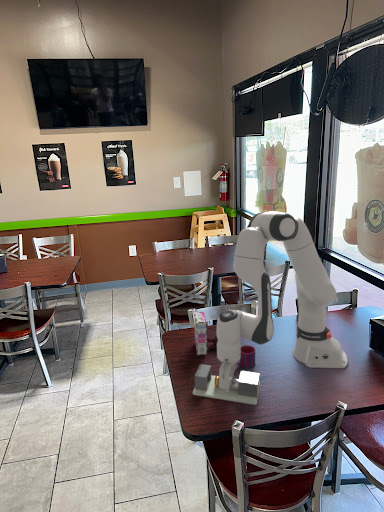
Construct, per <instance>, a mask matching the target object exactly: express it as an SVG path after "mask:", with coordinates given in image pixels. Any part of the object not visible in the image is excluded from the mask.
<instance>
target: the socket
mask: <svg viewBox="0 0 384 512" xmlns="http://www.w3.org/2000/svg"><path fill="white" fill-rule="evenodd" d="M211 375H212V365H209V364H203V363H200V364H199V366H198V368H197V371H196V372H195V374H194V384H195V385H194V388H195V389H197V390H203V391H207V380H211V379H212V377H211Z"/></svg>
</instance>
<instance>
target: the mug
mask: <svg viewBox="0 0 384 512" xmlns="http://www.w3.org/2000/svg"><path fill="white" fill-rule="evenodd" d="M236 365H238V366H240V367H243V368H244V369H245V368H247V369H250V368H253V367H255V365H256V348H255V347H254V346H252V345H249V344H248V345H241V358H240V360H239V361H238V362H237V364H236Z"/></svg>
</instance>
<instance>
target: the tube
mask: <svg viewBox="0 0 384 512" xmlns="http://www.w3.org/2000/svg"><path fill="white" fill-rule="evenodd" d="M215 376H216V377H215V382H214V385H215V387H219V375H215ZM238 381H239V378H236V377H235V378H234V377H233V378H232V381H231V384H230V389H235V390H238Z"/></svg>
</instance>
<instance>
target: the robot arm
mask: <svg viewBox="0 0 384 512" xmlns="http://www.w3.org/2000/svg"><path fill="white" fill-rule="evenodd" d="M269 241H270V242H272V241H276V242H277V241H278V242H282V244H283V246H284V249H285V252H286V255H287V257H288V260H289V262H290V265H291V266H292V268H293V270H294V273H295V274H294V281H295V285H296V297H297V303H298V304H297V306H298V318H297V319H298V320H297V325H296V334H295V336H296V340H295V346H294V348H293V350H292V356H293V357H294V359H296V360H297V361H299V362H300V363H303V364H304V365H305V366H306V367H308V368H309V369H310V368H311V369H312V368H314V369H315V368H316V369H317V368H319V369H324V368H325V369H345V368H346V367H347V366H348V356H347V353H346V352H345V351H344V350H343V349H342V346H341V344H340V342H339V341H338V340H337V339H335V338H334V337H333V336H332V333H331V330H330V329H329V326H328V325H327V327H326V321H327V309H326V306H329V305H331V303H333V302H334V301H335V299H336V298H337V291H336V288H335V286H334V284H333V283H332V280H331V278H330V276H329V274H328V272H327V269H326V268H325V266H324V264H323V262H322V260H321V258H320V255H319V254H318V251H317V248H316V246H315V243H314V240H313V238H312V235H311V233H310V231H309V228H308V227H307V225H306V223H305V221H303V220H302V218H300V217H294V216H293V215H292V214H289V213H287V212H284V211H283V212H281V211H266V212H265V211H264V212H263V211H262V212H261V211H260V212H258V213H256V214H253V216H252V217H251V218H250V220H249V222H248V225H247V226H246V228H243V229H242V230H241V231H240V232H239V234H238V238H237V241H236V244H235V249H234V257H233V271H234V272H235V274H236V275H237V276H238V278H240V280H242V281H244V282H245V283H247V284H248V285H249V286H251V287H252V288H253V289H254V291H255V292H256V294H257V309H258V311H257V314H253V313H249V312H247V311H243V310H240V309H230V308H228V309H224V310H222V311H221V312H219V314H218V316H217V322H216V334H217V338H218V342H217V346H216V359H218V360H219V362H221V365H220V368H219V374H218V376H219V388H220V389H224V390H225V391H226V392H229V390H230V384H231V381H232V378H234V374H235V369H236V366H237V365H238V364H237V363H238V362H239V360H240V358H241V347H242V345H241V343H242V342H241V338H242V339H245V340H247V341H251V342H254V343H255V344H258V345H264V344H266V343H268V342H270V341H272V339H273V336H274V330H275V329H274V328H275V327H274V320H273V306H272V304H273V303H272V286H271V285H272V283H271V277H270V275H269V274H268V273H267V272H266V269H265V266H264V259H265V249H266V246H267V244H268V243H269Z"/></svg>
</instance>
